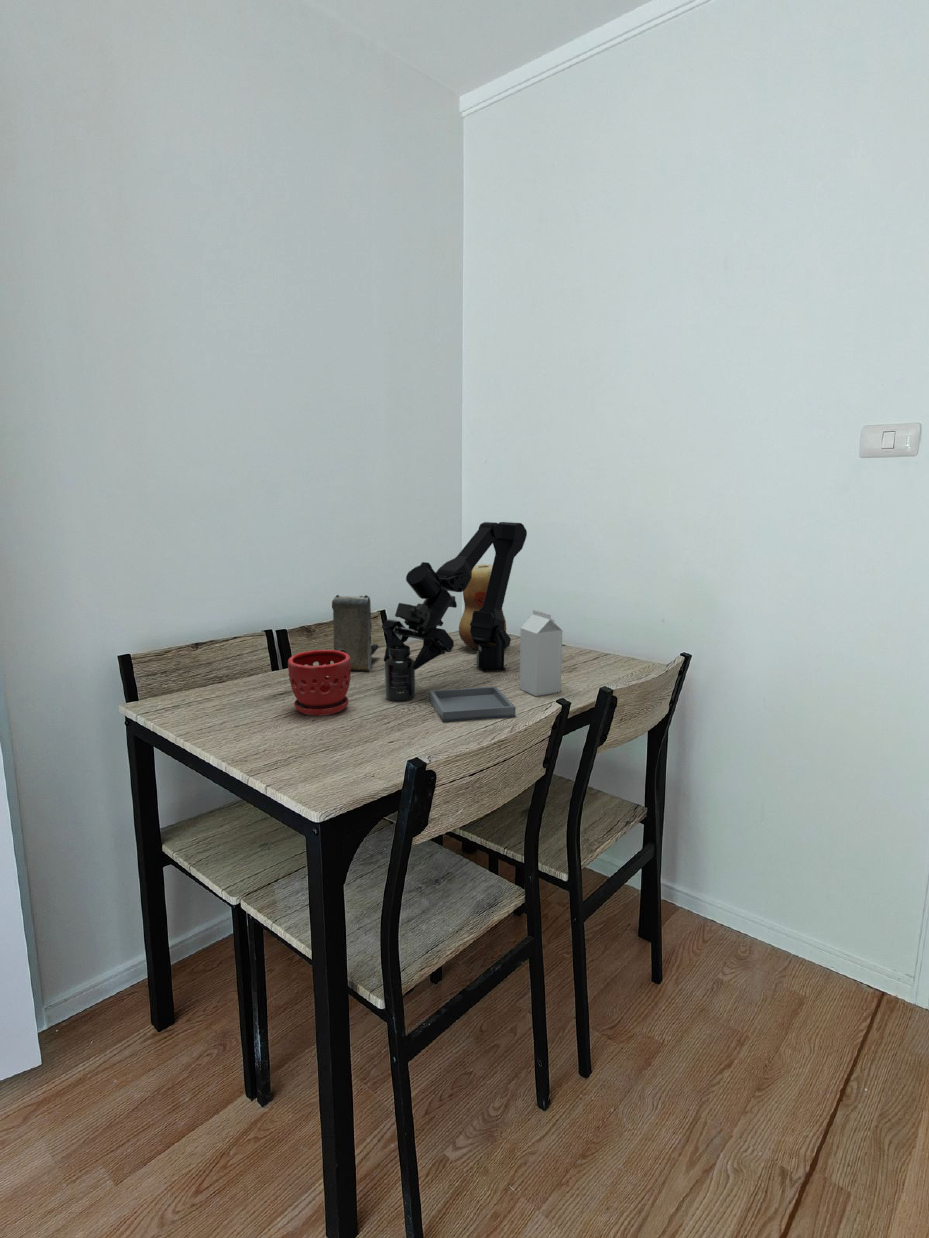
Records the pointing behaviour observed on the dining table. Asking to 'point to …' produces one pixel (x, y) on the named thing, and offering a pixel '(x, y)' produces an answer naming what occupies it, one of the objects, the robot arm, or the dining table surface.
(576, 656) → the dining table surface
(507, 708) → the charcoal tray
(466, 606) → the butternut squash
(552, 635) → the milk carton
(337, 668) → the plant pot
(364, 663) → the vintage camera
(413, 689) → the supplement bottle
